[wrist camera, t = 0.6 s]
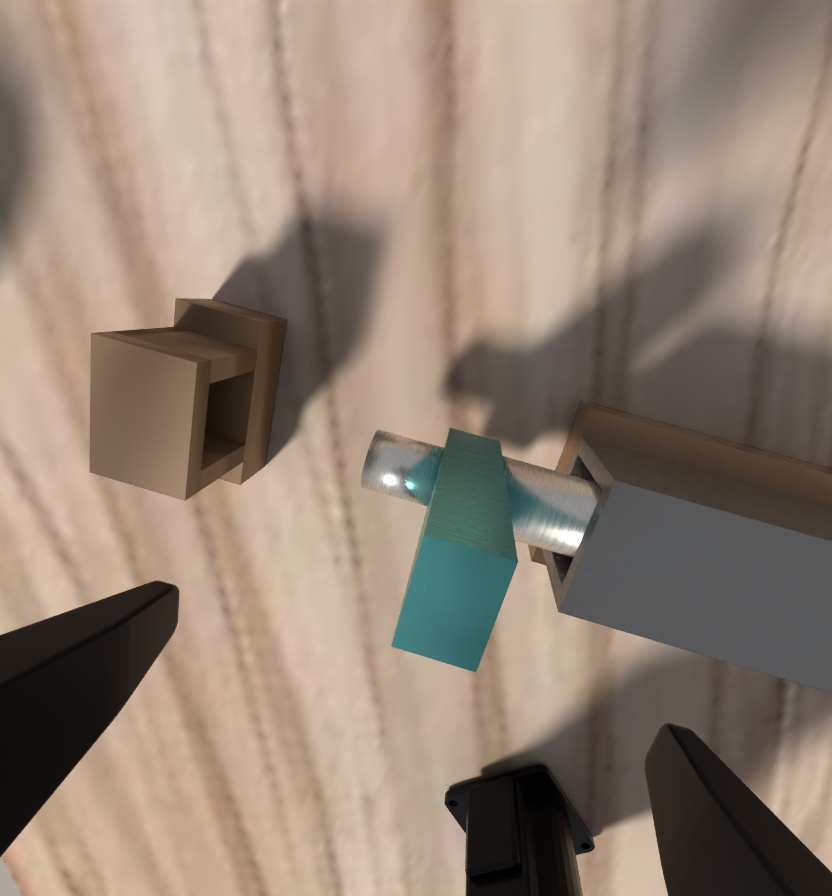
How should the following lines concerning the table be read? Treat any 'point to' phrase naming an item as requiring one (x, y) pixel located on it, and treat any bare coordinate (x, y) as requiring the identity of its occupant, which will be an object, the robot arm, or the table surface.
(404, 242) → the table surface
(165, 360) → the socket
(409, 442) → the teal block on rod
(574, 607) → the sleeve
